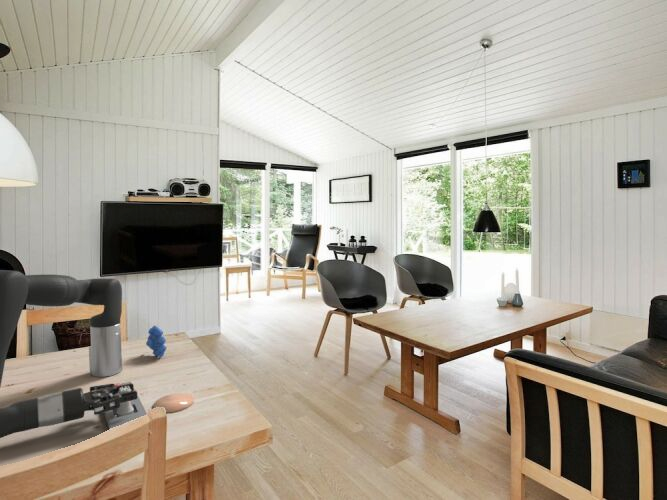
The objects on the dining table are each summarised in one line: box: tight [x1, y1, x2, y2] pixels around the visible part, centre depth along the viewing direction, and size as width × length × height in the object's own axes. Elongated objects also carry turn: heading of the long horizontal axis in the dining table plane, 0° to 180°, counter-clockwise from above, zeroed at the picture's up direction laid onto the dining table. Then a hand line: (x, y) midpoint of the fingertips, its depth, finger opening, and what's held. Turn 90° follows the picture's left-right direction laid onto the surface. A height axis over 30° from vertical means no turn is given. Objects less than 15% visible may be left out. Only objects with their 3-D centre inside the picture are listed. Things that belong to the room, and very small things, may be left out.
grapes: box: [145, 325, 167, 358], centre depth 155 cm, size 12×7×12 cm, turn 50°
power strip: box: [103, 381, 148, 429], centre depth 114 cm, size 30×9×2 cm, turn 36°
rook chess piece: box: [115, 386, 135, 418], centre depth 109 cm, size 4×4×8 cm
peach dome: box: [153, 392, 195, 414], centre depth 116 cm, size 11×11×1 cm
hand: (134, 390), depth 110 cm, fingers open, 5 cm apart
